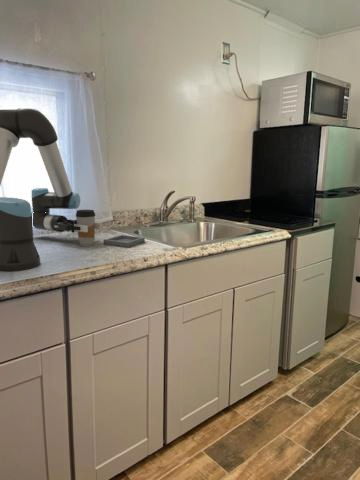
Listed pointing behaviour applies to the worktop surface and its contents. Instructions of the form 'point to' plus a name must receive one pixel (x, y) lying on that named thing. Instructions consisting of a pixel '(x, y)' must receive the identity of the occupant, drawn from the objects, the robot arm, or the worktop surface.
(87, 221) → the coffee cup
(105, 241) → the dish
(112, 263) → the worktop surface
